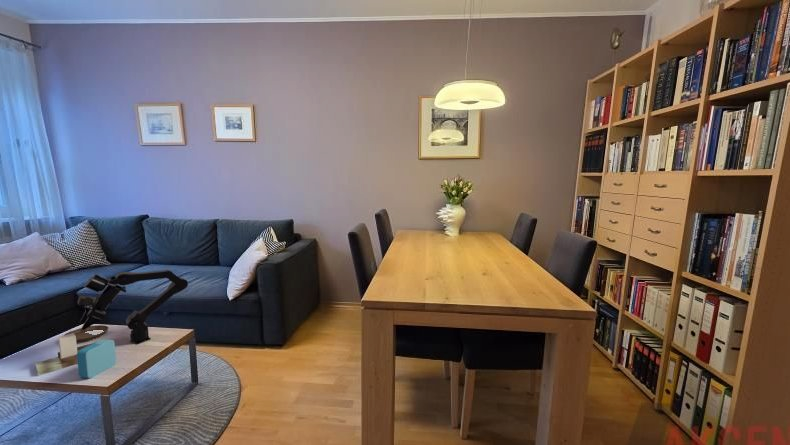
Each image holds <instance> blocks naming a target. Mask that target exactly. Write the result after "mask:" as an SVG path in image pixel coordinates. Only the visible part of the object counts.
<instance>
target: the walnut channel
mask: <svg viewBox="0 0 790 445" xmlns="http://www.w3.org/2000/svg"><path fill="white" fill-rule="evenodd" d="M96 342H97V341H94V342H92V343H91V342H90V343H87V344H84V345H80V346H77V353H78V351H79V350H81V349H83V348H85V347H87V346H90V345H92V344H94V343H96ZM34 365H35V370H36V373H37V376H38V377H39V376H42V375H45V374H49V373H53V372H55V371H58V370H62V369H65V368H68V367H71V366H75V365H78V363H77V354H76V355H72V356H69V357H66V358H62V359H61V358H60V351H58V352H57V356H55V357H52V358H49V359H46V360H45V359H44V360H42V361H38V362H35V364H34Z"/></svg>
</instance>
